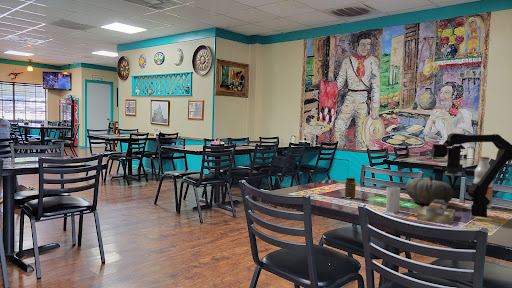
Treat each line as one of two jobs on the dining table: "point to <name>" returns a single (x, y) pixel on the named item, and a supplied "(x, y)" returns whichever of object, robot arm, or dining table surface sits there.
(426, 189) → the gourd
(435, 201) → the dark grey square block
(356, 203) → the dining table surface
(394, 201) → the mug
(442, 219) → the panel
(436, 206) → the salmon brown square block
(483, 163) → the fruit juice
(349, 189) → the condiment
